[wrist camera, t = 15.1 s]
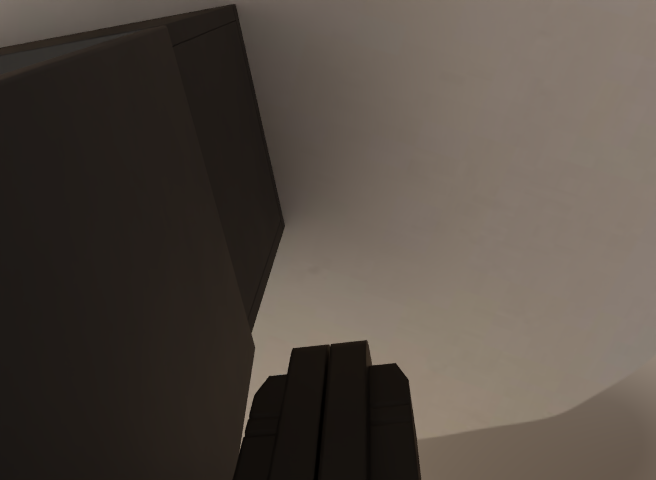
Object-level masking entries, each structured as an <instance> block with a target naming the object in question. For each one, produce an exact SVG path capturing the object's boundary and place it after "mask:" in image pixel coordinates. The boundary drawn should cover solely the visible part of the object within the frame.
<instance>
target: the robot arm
mask: <svg viewBox="0 0 656 480" xmlns="http://www.w3.org/2000/svg"><path fill="white" fill-rule="evenodd" d="M233 480H421V473H420V464H419V455H418V446H417V437H416V430H415V423H414V416H413V409H412V402H411V395H410V387H409V380H408V379H407V377H406V376H405V375H404V373H403V372H402V371H401V369H400V368H399V367H398V365H397V364H396V363H393V364H383V365H373V366H372V362H371V356H370V350H369V345H368V341H367V340H364V341H355V342H345V343H336V344H331V346H330V345H329V344H328V345H319V346H309V347H300V348H293V349H292V352H291V357H290V362H289V367H288V372H287V374H286V375H276V376H269V377H268V378H267V380H266V381H265V382H264V383H263V385H262V386H261V387H260V389H259V390H258V391H257V392H256V394H255V395H254V399H253V402H252V406H251V410H250V414H249V419H248V422H247V426H246V430H245V437H243V441H242V445H241V449H240V453H239V457H238V460H237V464H236V468H235V472H234V476H233Z"/></svg>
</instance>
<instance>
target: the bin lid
mask: <svg viewBox="0 0 656 480" xmlns="http://www.w3.org/2000/svg"><path fill="white" fill-rule="evenodd" d="M254 352H255V345H254V342H253V338H252V334H251V331H250V327H249V324H248V320H247V316H246V313H245V309H244V305H243V302H242V298H241V294H240V291H239V287H238V283H237V280H236V276H235V272H234V269H233V265H232V262H231V258H230V254H229V251H228V247H227V243H226V240H225V236H224V232H223V229H222V225H221V221H220V218H219V214H218V210H217V207H216V203H215V200H214V196H213V192H212V189H211V185H210V181H209V178H208V174H207V170H206V167H205V163H204V159H203V156H202V152H201V148H200V145H199V141H198V137H197V134H196V130H195V127H194V123H193V119H192V116H191V112H190V108H189V105H188V101H187V97H186V94H185V90H184V86H183V83H182V79H181V75H180V72H179V68H178V65H177V61H176V57H175V54H174V50H173V46H172V43H171V39H170V35H169V32H168V28H167V27H166V26H164V25H163V26H158V27H152V28H147V29H144V30H141V31H137V32H134V33H131V34H128V35H125V36H122V37H118V38H115V39H112V40H109V41H106V42H103V43H99V44H96V45H93V46H90V47H87V48H84V49H80V50H77V51H74V52H71V53H68V54H65V55H61V56H58V57H55V58H52V59H49V60H46V61H42V62H39V63H36V64H33V65H30V66H26V67H23V68H20V69H17V70H14V71H11V72H7V73H4V74H1V75H0V480H233V476H234V472H235V468H236V464H237V460H238V457H239V451H240V444H241V438H242V431H243V424H244V418H245V411H246V405H247V398H248V391H249V385H250V378H251V372H252V365H253V358H254Z"/></svg>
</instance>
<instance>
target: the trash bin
mask: <svg viewBox="0 0 656 480" xmlns="http://www.w3.org/2000/svg"><path fill="white" fill-rule="evenodd" d="M163 25H164V26H166V27H167V28H168V32H169V35H170V39H171V43H172V46H173V50H174V54H175V57H176V61H177V65H178V68H179V72H180V75H181V79H182V83H183V86H184V90H185V94H186V97H187V101H188V105H189V108H190V112H191V116H192V119H193V123H194V127H195V130H196V134H197V137H198V141H199V145H200V148H201V152H202V156H203V159H204V163H205V167H206V170H207V174H208V178H209V181H210V185H211V189H212V192H213V196H214V200H215V203H216V207H217V210H218V214H219V218H220V221H221V225H222V229H223V232H224V236H225V240H226V243H227V247H228V251H229V254H230V258H231V262H232V265H233V269H234V272H235V276H236V280H237V283H238V287H239V291H240V294H241V298H242V302H243V305H244V309H245V313H246V316H247V320H248V324H249V327H250V331H251V333H252V330H253V327H254V323H255V320H256V317H257V314H258V310H259V307H260V304H261V301H262V298H263V294H264V291H265V288H266V285H267V282H268V278H269V275H270V272H271V269H272V266H273V262H274V259H275V256H276V253H277V250H278V246H279V243H280V240H281V237H282V233H283V230H284V227H285V225H284V220H283V216H282V211H281V207H280V202H279V198H278V193H277V189H276V185H275V180H274V176H273V171H272V167H271V162H270V158H269V153H268V149H267V144H266V140H265V135H264V131H263V126H262V122H261V117H260V113H259V108H258V104H257V99H256V95H255V90H254V86H253V81H252V77H251V72H250V68H249V64H248V59H247V55H246V50H245V46H244V41H243V37H242V32H241V28H240V23H239V19H238V14H237V10H236V5H235V4H232V5H227V6H221V7H216V8H211V9H205V10H200V11H194V12H189V13H184V14H178V15H173V16H168V17H162V18H157V19H152V20H146V21H141V22H136V23H130V24H125V25H120V26H114V27H109V28H104V29H98V30H93V31H88V32H82V33H77V34H72V35H66V36H61V37H56V38H50V39H45V40H40V41H34V42H29V43H24V44H18V45H13V46H8V47H2V48H0V75H1V74H4V73H7V72H11V71H14V70H17V69H20V68H23V67H26V66H30V65H33V64H36V63H39V62H42V61H46V60H49V59H52V58H55V57H58V56H61V55H65V54H68V53H71V52H74V51H77V50H80V49H84V48H87V47H90V46H93V45H96V44H99V43H103V42H106V41H109V40H112V39H115V38H118V37H122V36H125V35H128V34H131V33H134V32H137V31H141V30H144V29H147V28H152V27H158V26H163Z"/></svg>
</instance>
